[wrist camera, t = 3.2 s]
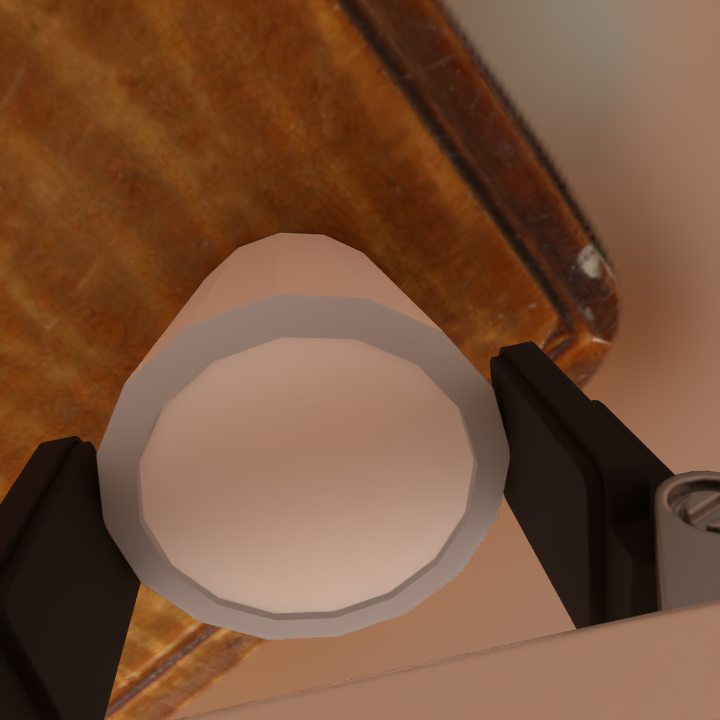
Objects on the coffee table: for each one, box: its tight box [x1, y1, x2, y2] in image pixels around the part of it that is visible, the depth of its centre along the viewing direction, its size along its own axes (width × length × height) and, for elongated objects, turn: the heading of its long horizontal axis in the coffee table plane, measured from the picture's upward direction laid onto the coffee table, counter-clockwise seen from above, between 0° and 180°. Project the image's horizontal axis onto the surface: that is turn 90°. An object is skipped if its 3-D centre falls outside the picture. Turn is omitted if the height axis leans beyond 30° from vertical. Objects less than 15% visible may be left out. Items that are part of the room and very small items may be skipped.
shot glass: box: [96, 233, 510, 640], centre depth 14 cm, size 7×7×7 cm
